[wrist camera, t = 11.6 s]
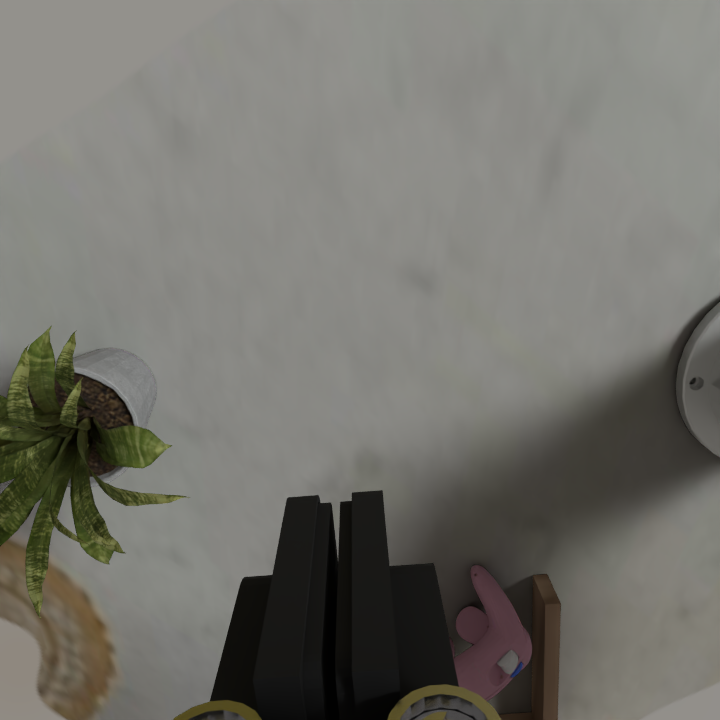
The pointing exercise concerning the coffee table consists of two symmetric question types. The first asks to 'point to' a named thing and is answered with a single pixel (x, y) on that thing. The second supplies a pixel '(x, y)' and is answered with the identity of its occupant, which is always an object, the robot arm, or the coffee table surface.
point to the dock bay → (543, 653)
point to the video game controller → (490, 640)
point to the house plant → (73, 445)
